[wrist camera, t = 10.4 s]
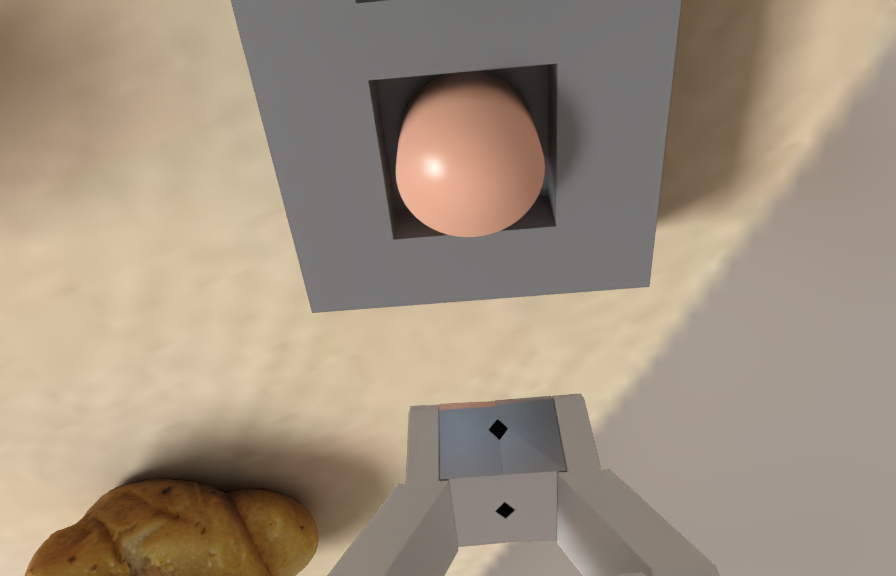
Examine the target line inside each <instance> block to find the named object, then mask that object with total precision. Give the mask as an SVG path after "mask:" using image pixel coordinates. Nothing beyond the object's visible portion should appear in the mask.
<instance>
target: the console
mask: <svg viewBox="0 0 896 576" xmlns="http://www.w3.org/2000/svg"><path fill="white" fill-rule="evenodd" d="M231 3H232V7H233V11H234V15H235V19H236V22H237V26H238V30H239V34H240V38H241V42H242V45H243V49H244V53H245V57H246V61H247V65H248V68H249V72H250V76H251V80H252V84H253V88H254V91H255V95H256V99H257V103H258V107H259V111H260V114H261V118H262V122H263V126H264V130H265V134H266V137H267V141H268V145H269V149H270V153H271V157H272V160H273V164H274V168H275V172H276V176H277V180H278V183H279V187H280V191H281V195H282V199H283V203H284V207H285V210H286V214H287V218H288V222H289V226H290V230H291V233H292V237H293V241H294V245H295V249H296V253H297V256H298V260H299V264H300V268H301V272H302V276H303V279H304V283H305V287H306V291H307V295H308V299H309V302H310V306H311V310H312V313H317V312H330V311H343V310H356V309H369V308H382V307H395V306H408V305H421V304H433V303H446V302H459V301H472V300H485V299H498V298H511V297H524V296H537V295H550V294H563V293H576V292H589V291H601V290H614V289H627V288H640V287H649V285H650V276H651V267H652V259H653V250H654V241H655V232H656V223H657V214H658V205H659V196H660V187H661V178H662V170H663V161H664V152H665V143H666V134H667V125H668V116H669V107H670V98H671V89H672V80H673V72H674V63H675V54H676V45H677V36H678V27H679V18H680V9H681V0H231ZM468 71H481V72H485V73H490V74H492V75H495V76H497V77H499V78H501V79H503V80H505V81H507V82H508V83H509V84H511V85H512V86H513V87H514V88H515V89H516V90H517V91H518V92H519V93H520V94H521V95H522V97H523V98H524V99H525V101H526V103H527V105H528V106H529V109H530V111H531V114H532V117H533V120H534V124H535V127H536V131H537V134H538V137H539V141H540V144H541V148H542V151H543V156H544V163H545V173H544V180H543V185H542V188H541V190H540V193H539V195H538V197H537V199H536V201H535V202H534V204H533V205H532V207H531V208H530V209H529V210H528V211H527V212H526V214H525V215H524V216H522V217H521V218H520V219H519V220H518V221H516V222H515V223H513V224H512V225H510V226H509V227H507V228H505V229H503V230H501V231H498V232H495V233H493V234H489V235H485V236H478V237H458V236H452V235H447V234H444V233H441V232H438V231H436V230H434V229H432V228H430V227H428V226H427V225H425V224H424V223H422V222H421V221H420V220H419V219H417V218H416V217H415V216H414V215H413V214H412V213H411V212H410V210H409V209H408V207H407V206H406V205H405V203H404V201H403V199H402V197H401V195H400V192H399V190H398V186H397V181H396V161H397V151H398V141H399V131H400V124H401V119H402V116H403V113H404V111H405V109H406V107H407V105H408V103H409V102H410V100H411V99H412V97H413V96H414V95H415V94H416V93H417V92H418V91H419V90H420V89H421V88H422V87H423V86H424V85H426V84H427V83H428V82H430V81H432V80H433V79H435V78H437V77H440V76H442V75H444V74H448V73H457V72H468Z"/></svg>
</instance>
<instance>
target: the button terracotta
mask: <svg viewBox="0 0 896 576" xmlns="http://www.w3.org/2000/svg"><path fill="white" fill-rule="evenodd" d="M544 173H545V163H544V156H543V151H542V148H541V144H540V141H539V137H538V134H537V131H536V127H535V124H534V120H533V117H532V114H531V111H530V109H529V106H528V105H527V103H526V101H525V99H524V98H523V97H522V95H521V94H520V93H519V92H518V91H517V90H516V89H515V88H514V87H513V86H512V85H511V84H509V83H508V82H507V81H505V80H503V79H501V78H499V77H497V76H495V75H492V74H490V73H485V72H481V71H468V72H457V73H448V74H444V75H442V76H440V77H437V78H435V79H433V80H432V81H430V82H428V83H427V84H426V85H424V86H423V87H422V88H421V89H420V90H419V91H418V92H417V93H416V94H415V95H414V96H413V97H412V99H411V100H410V102H409V103H408V105H407V107H406V109H405V111H404V113H403V116H402V119H401V124H400V131H399V141H398V151H397V161H396V181H397V186H398V190H399V192H400V195H401V197H402V199H403V201H404V203H405V205H406V206H407V207H408V209H409V210H410V212H411V213H412V214H413V215H414V216H415V217H416V218H417V219H419V220H420V221H421V222H422V223H424V224H425V225H427V226H428V227H430V228H432V229H434V230H436V231H438V232H441V233H444V234H447V235H452V236H458V237H478V236H485V235H489V234H493V233H495V232H498V231H501V230H503V229H505V228H507V227H509V226H510V225H512V224H513V223H515V222H516V221H518V220H519V219H520V218H521V217H522V216H524V215H525V214H526V212H527V211H528V210H529V209H530V208H531V207H532V205H533V204H534V202H535V201H536V199H537V197H538V195H539V193H540V190H541V188H542V185H543V180H544Z"/></svg>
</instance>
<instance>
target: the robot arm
mask: <svg viewBox="0 0 896 576" xmlns="http://www.w3.org/2000/svg"><path fill="white" fill-rule="evenodd" d="M532 541H557V544H558V545H559V546H560V547H561V549H562V550H563V551H564V552H565V554H566V555H567V556H568V557H569V559H570V560H571V561H572V562H573V564H574V565H575V566H576V568H577V569H578V570H579V571H580V573H581V574H582V575H583V576H720V575H719V572H718V570H717V567H716V565H714V564H713V563H712V562H711V561H710V560H709V559H708V558H707V557H706V556H705V555H703V554H702V553H701V552H700V551H699V550H698V549H697V548H696V547H695V546H693V544H691V543H690V542H689V541H688V540H687V539H686V538H685V537H684V536H682V534H680V533H679V532H678V531H677V530H676V529H675V528H674V527H673V526H672V525H671V524H670V523H668V522H667V521H666V520H665V519H664V518H663V517H662V516H661V515H660V514H658V513H657V512H656V511H655V510H654V509H653V508H652V507H651V506H650V505H649V504H648V503H646V502H645V501H644V500H643V499H642V498H641V497H640V496H639V495H638V494H637V493H636V492H634V491H633V490H632V489H631V488H630V487H629V486H628V485H627V484H626V483H625V482H624V481H623V480H621V479H620V478H619V477H618V476H617V475H616V474H615V473H614V472H612V471H611V470H610V469H603V470H601V466H600V462H599V458H598V453H597V450H596V445H595V441H594V437H593V433H592V429H591V425H590V421H589V417H588V412H587V408H586V404H585V400H584V397H583V396H582V395H581V394H570V395H558V396H552V397H551V396H544V397H532V398H520V399H508V400H496V401H490V402H470V403H450V404H440V405H419V406H411V407H410V410H409V416H408V441H407V466H406V483H402V484H397V485H396V487H395V488H394V489H393V490H392V492H391V493H390V494H389V496H388V497H387V498H386V500H385V501H384V502H383V503H382V505H381V506H380V507H379V509H378V510H377V511H376V513H375V514H374V515H373V517H372V518H371V519H370V520H369V522H368V523H367V524H366V526H365V527H364V528H363V530H362V531H361V532H360V534H359V535H358V536H357V537H356V539H355V540H354V541H353V543H352V544H351V545H350V547H349V548H348V549H347V551H346V552H345V553H344V554H343V556H342V557H341V558H340V560H339V561H338V562H337V564H336V565H335V566H334V568H333V569H332V570H331V571H330V573H329V574H328V575H327V576H445V574H446V572H447V570H448V568H449V566H450V565H451V563H452V561H453V559H454V557H455V555H456V554H457V552H458V547H464V546H474V545H485V544H496V543H506V542H532Z"/></svg>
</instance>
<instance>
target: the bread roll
mask: <svg viewBox="0 0 896 576" xmlns="http://www.w3.org/2000/svg"><path fill="white" fill-rule="evenodd" d="M317 546H318V532H317V526H316V523H315V520H314V518H313V516H312V514H311V513H310V511H308V510H307V509H306V508H305V507H304V506H303V505H301V504H300V503H298V502H297V501H295V500H293V499H290V498H288V497H286V496H284V495H281V494H278V493H275V492H271V491H267V490H260V489H253V490H239V491H233V492H229V493H224V492H222V491H219V490H217V489H215V488H214V487H212V486H209V485H205V484H199V483H197V482H189V481H186V480H173V479H160V478H158V479H149V480H146V481H142V482H137V483H131V484H127V485H123V486H119V487H116V488H114V489H112V490H110V491H109V492H108V493H106V494H105V495H103V496H102V497H101V498H100V499H99V500H98V501H97V502H96V503H95V504H94V505H93V506H92V507H91V508H90V509H89V510H88V511H87V513H86V514H85V516H84V517H83V518H82V519H81V520H80V521H78V522H77V523H76V524H75V525H72V526H70V527H67V528H65V529H62V530H58V531H56V532H55V533H53V534H51V535H50V537H49V538H48V539H47V540H46V541H45V542H44V543H43V544H42V545H41V547H40V548H39V549H38V550H37V552H36V553H35V554H34V556H33V558H32V560H31V561H30V563H29V566H28V568H27V571H26V573H25V576H296V575H297V574H298V573H299V572H300V571H301V570H303V569H304V568H305V567H306V566H307V565H308V563H309V562H310V560H311V559H312V557H313V556H314V554H315V553H316V550H317Z"/></svg>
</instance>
